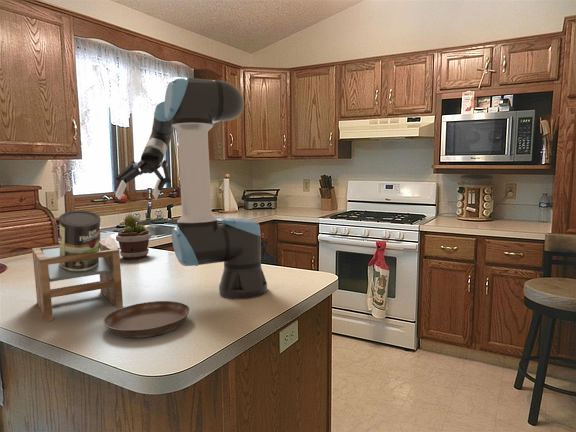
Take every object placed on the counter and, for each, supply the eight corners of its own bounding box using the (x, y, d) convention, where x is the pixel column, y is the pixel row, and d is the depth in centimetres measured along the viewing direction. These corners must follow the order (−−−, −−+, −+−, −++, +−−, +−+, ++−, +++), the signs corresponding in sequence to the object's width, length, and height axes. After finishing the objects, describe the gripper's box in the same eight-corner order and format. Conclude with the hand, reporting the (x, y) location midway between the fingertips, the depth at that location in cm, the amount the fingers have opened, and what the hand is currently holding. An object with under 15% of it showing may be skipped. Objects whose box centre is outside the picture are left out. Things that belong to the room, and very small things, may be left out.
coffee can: (106, 262, 123) (108, 219, 118) (76, 275, 114) (76, 230, 109) (82, 249, 127) (82, 207, 121) (50, 261, 118) (50, 216, 112)
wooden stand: (122, 305, 121) (119, 249, 119) (45, 321, 109) (39, 260, 107) (106, 290, 136) (103, 240, 134) (37, 302, 125) (32, 248, 123)
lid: (109, 272, 121) (109, 269, 121) (50, 281, 112) (50, 278, 112) (96, 245, 132) (97, 242, 131) (42, 251, 123) (42, 248, 122)
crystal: (120, 242, 201) (139, 234, 225) (106, 235, 201) (127, 227, 225) (113, 255, 202) (133, 246, 226) (100, 248, 202) (121, 239, 226)
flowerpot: (157, 257, 184) (154, 212, 181) (120, 262, 175) (117, 215, 173) (147, 252, 196) (145, 209, 193) (113, 256, 187) (110, 212, 185)
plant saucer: (86, 332, 103) (85, 319, 102) (153, 307, 120) (152, 296, 120) (142, 350, 92) (141, 335, 91) (206, 320, 109) (206, 307, 109)
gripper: (188, 160, 158) (173, 203, 145) (127, 161, 161) (107, 203, 149) (182, 145, 152) (166, 189, 139) (118, 146, 156) (97, 189, 143)
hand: (136, 196), depth 144 cm, fingers open, 13 cm apart
